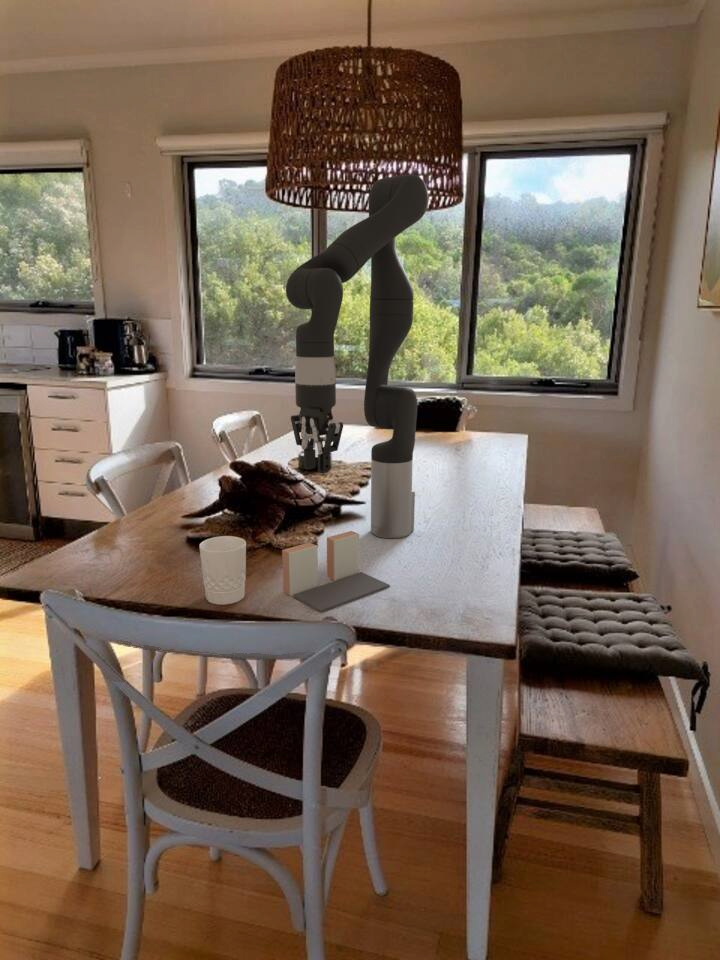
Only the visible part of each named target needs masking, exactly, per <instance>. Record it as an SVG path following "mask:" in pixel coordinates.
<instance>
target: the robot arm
mask: <svg viewBox="0 0 720 960" xmlns="http://www.w3.org/2000/svg"><path fill="white" fill-rule="evenodd" d="M428 206H429V191H428V188H427V185H426V183H425V181H424V180H423V178H421V177H420V176H419V175H416V174H401V175H400V174H399V175H395V176H394V175H393V176H389V177H383V178H379V179H377V180H375V182H373V184H372V185H371V188H370V191H369V194H368V217H366V218H364V219H362V220H360V221H359V222H356V223H355V224H353V225H351V226H350V227H348V228H347V229H345V230H344V231H343V232H342V233H340V234H339V235H338V237H337V238H335V239H334V240H333V242H332V243H330V244H329V245H328V246H327V247H326V248H325V250H324V251H322V252H321V253H319V254H317V255H315V256H313V257H311V258H310V259H308V260H307V261H305V262H303V263H302V264H301V265H299V266H298V267H297V268H295V269H294V270H293V272H291V274H290V275H289V277H288V279H287V282H286V284H285V294H286V298H287V300H288V302H289V303H290V304H291V305H292V306H293V307H295V308H297V309H301V310H311V311H312V313H311V314H310V319H309V321H308V322H305V323H301V324H299V325H298V326H297V327H296V330H295V354H296V355H295V356H296V357H295V365H294V366H295V367H294V373H295V374H294V375H295V377H294V378H295V380H294V382H295V384H294V385H295V405H296V407H297V408H300V411H299V414H294V415H291V416H290V421H291V427H292V431H293V436H294V439H295V444H296V446H301V449H302V451H303V464H304V465H303V466H304V469H306V470H312V469H315V468H316V465H317V472H318V474H326V473H329V472H330V468H331V453H333V452H338V449H339V446H340V442H341V441H340V440H341V438H342V437H341V436H342V433H343V429H344V424H343V422H342V421H339V422H337V421H336V420H335V419H334V416H333V412H332V409H333V407H335V406H336V404H337V402H336V401H337V400H336V399H337V398H336V394H337V391H336V390H337V389H336V388H337V386H336V384H337V383H336V379H337V377H336V376H337V375H336V373H337V372H336V364H335V362H336V361H335V331H336V327H337V323H338V319H339V316H340V312H341V307H342V305H343V304H342V303H343V298H344V287H343V284H345V283H347V282H348V281H350V280H351V279H352V278H354V276H355V275H356V274H357V273H358V272H359V271H360V270H361V269H362V268H363V267H364V266H365V265H366V264H367V262H368V261H370V295H369V339H368V341H369V347H368V358H367V359H368V360H367V370H366V371H367V372H366V377H365V378H366V380H365V389H364V390H365V391H364V398H363V400H364V401H363V412H364V419H365V421H366V423H367V425H369V426H371V427H374V428H380V429H381V428H382V429H392V436H391V438H390V439H388V440H387V441H381V442H379V443H376V444H374V445H372V447H371V452H370V453H371V457H370V459H371V460H370V461H371V462H370V463H371V464H370V466H371V467H370V473H371V474H370V533H371V534H372V535H373V536H376V537H379V538H382V539H384V538H385V539H400V538H405V537H407V536H409V535H410V534H411V533H412V532H414V531H415V506H416V505H415V501H416V500H415V499H416V492H415V490H413V461H414V460H413V458H414V455H413V454H414V449H415V444H416V432H417V431H416V430H417V420H418V419H417V417H418V399H417V394H416V392H415V391H414V389H412V388H411V387H408V386H406V387H405V386H393V385H388V383H389V382H388V381H389V374H390V367H391V365H392V362H393V359H394V358H395V355H396V354H397V352H398V351H399V349H400V348H401V346H402V344H403V343H404V342H405V340H406V338H407V336H408V334H409V333H410V330H411V328H412V326H413V322H414V321H413V320H414V301H415V300H414V289H413V286H412V283H411V281H410V279H409V277H408V274H407V273H406V270H405V269H404V267H403V265H402V262H401V260H400V258H399V255H398V251H397V243H396V241H397V240H396V237H397V236H399V235H400V234H401V233H403V232H404V231H406V230H408V229H409V228H411V227H412V226H413V225H414V224H417V222H419V221H420V220H421V219H422V218H423V217H424V215H425V214H426V212H427V209H428ZM323 442H324V444H323ZM316 446H317V447H316ZM315 447H316V448H317V453H318V454H317V458H316V449H315ZM316 459H317V460H316ZM316 461H317V462H316ZM316 463H317V464H316ZM413 530H414V531H413Z"/></svg>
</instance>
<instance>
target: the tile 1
mask: <svg viewBox="0 0 720 960" xmlns="http://www.w3.org/2000/svg"><path fill="white" fill-rule="evenodd" d="M318 553H319V552H318V545H316V544H314V543H311V542H307V543H302V544H299V545H295V546H292V547H288V548H284V549H282V550H281V557H282V560H281V561H282V586H283V587H282V590H283V592H284V593H285V594H287V595H288V596H290V597H293V595H294V594H297V593H300V592H303V591H306V590H309V589H312V588H315V587H318V586H319V578H318V577H319V570H318V569H319V565H318V561H319V557H318V555H319V554H318Z"/></svg>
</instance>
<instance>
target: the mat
mask: <svg viewBox="0 0 720 960" xmlns="http://www.w3.org/2000/svg"><path fill="white" fill-rule="evenodd" d="M387 587H388V588H390V587H391V585H390V584H388V583H386V582H384V581H382V580H380V579H378V578H376V577H374V576H372V575H370V574H367V573H365V572H362V571H359V573H356V574H353V575H350V576H347V577H344V578H341V579H339V580H336V581H334V580H332V581H330V582H326V583H324V584H321V585H318V587H315V588H312V589H309V590H306V591H303V592H300V593H297V594H294V595H293V596H292V598H293V599H296V600H297V601H299V602H301V603H302V604H304V605H306V606H308V607H310V608H311V609H313V610H315V611H317V612H319V613H321V614H322V613H323V612H326V611H329V610H331V609H334V608H337V607H339V606H342V605H346V604H347V603H351V602H353V601H356V600H359V599H362V598H364V597H366V596H369V595H371V594H375V593H378V592H380V591H383V590H384V589H385V588H386V589H388V588H387ZM382 589H383V590H382ZM386 589H385V590H386ZM379 590H380V591H379Z"/></svg>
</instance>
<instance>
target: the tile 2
mask: <svg viewBox="0 0 720 960" xmlns="http://www.w3.org/2000/svg"><path fill="white" fill-rule="evenodd" d="M359 572H360V533H358V532H356V531H353V530H349V531H347V532H346V531H345V532H342V533H338V534H335V535H331V536H328V537H326V577H327V578H328V579H330V580H331V581H336V580H339V579H341V578H344V577H347V576H350V575H353V574H356V573H359Z"/></svg>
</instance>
